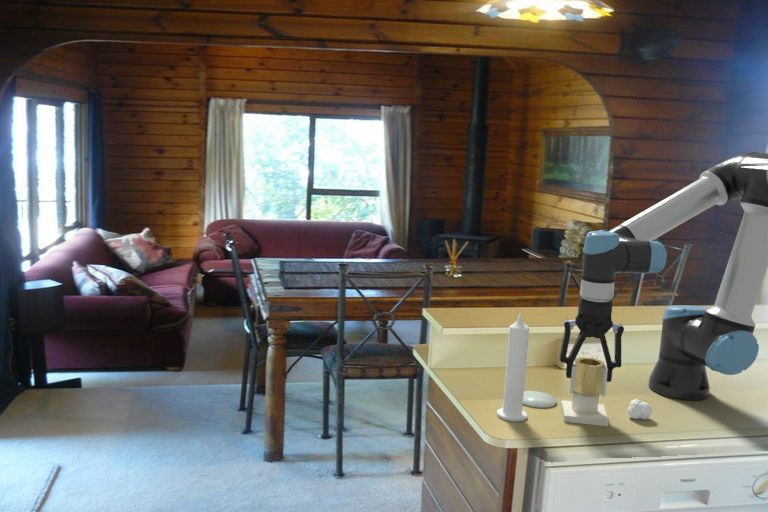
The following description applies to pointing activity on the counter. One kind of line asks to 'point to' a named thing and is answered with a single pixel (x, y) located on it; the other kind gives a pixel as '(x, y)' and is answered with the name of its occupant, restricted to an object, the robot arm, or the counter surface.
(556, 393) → the counter surface
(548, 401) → the coaster
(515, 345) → the candle
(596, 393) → the brass hex nut
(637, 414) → the microfossil shell
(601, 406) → the stand
